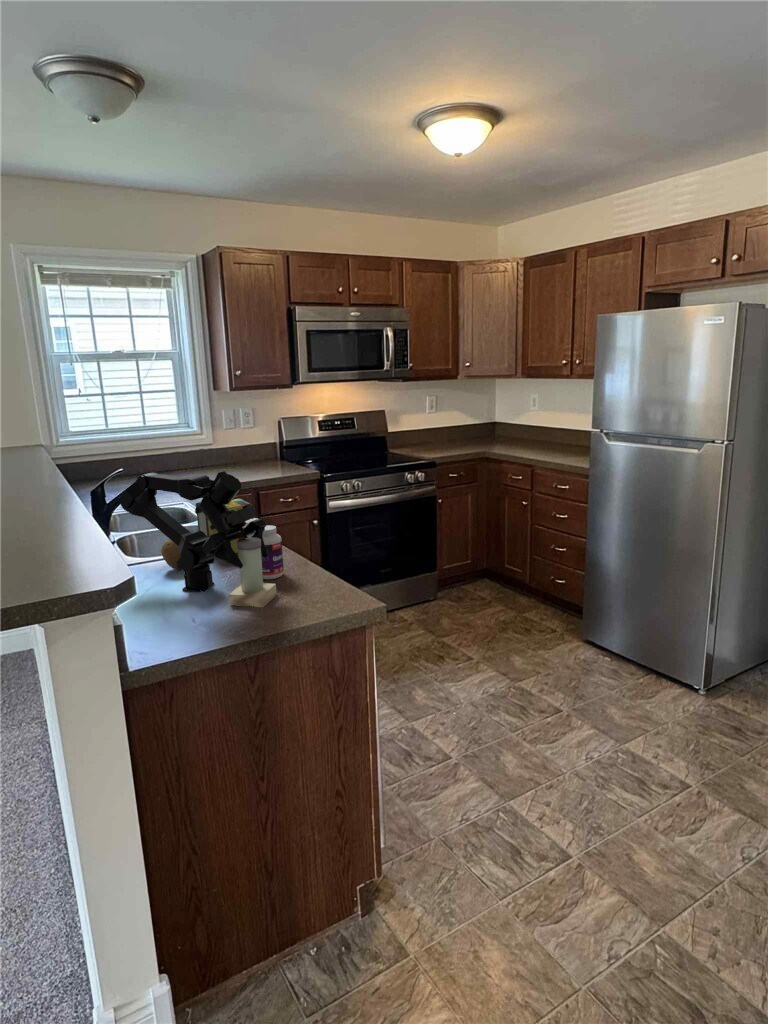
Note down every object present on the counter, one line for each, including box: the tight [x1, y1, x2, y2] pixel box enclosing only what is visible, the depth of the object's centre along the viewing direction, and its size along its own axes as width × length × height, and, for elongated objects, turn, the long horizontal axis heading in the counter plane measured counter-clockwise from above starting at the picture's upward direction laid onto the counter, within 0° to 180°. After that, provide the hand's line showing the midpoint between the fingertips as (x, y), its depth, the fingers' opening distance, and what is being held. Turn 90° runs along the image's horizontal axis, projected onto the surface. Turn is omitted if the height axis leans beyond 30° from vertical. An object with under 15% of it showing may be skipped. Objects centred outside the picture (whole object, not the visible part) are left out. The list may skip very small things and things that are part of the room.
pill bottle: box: [261, 524, 285, 580], centre depth 179 cm, size 8×8×14 cm
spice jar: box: [237, 538, 264, 593], centre depth 161 cm, size 6×6×13 cm
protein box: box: [196, 498, 253, 554], centre depth 205 cm, size 10×15×16 cm
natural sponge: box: [160, 538, 181, 571], centre depth 188 cm, size 9×9×10 cm
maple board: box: [228, 582, 277, 608], centre depth 163 cm, size 9×9×3 cm
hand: (254, 561), depth 160 cm, fingers open, 9 cm apart
